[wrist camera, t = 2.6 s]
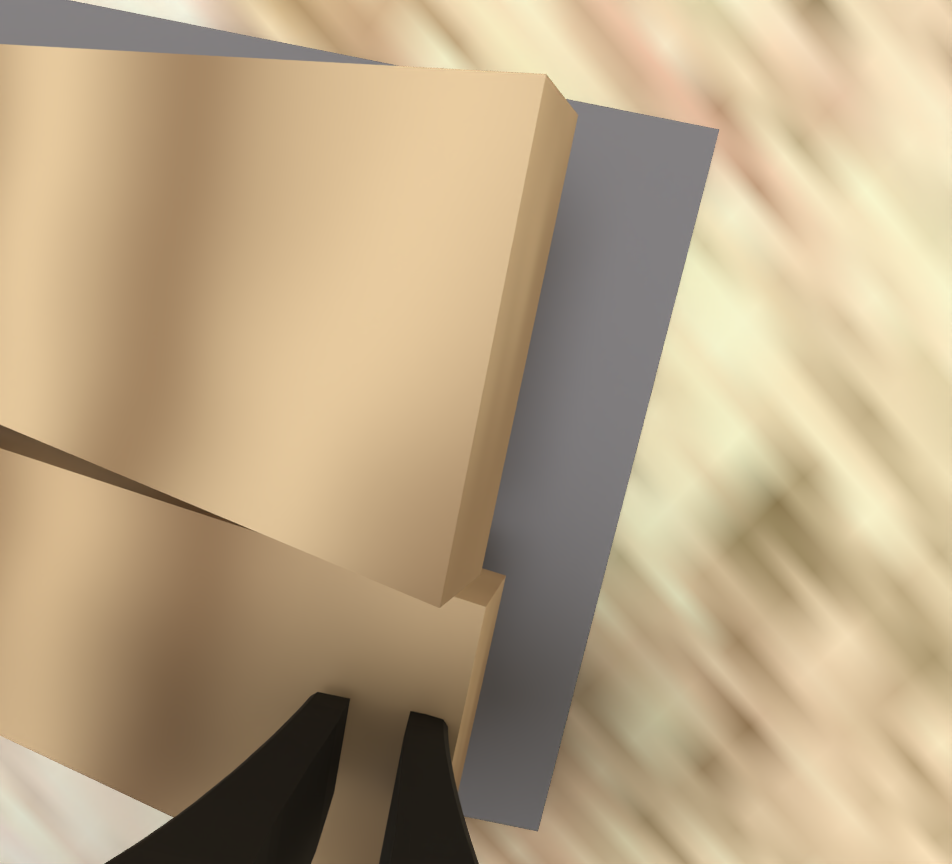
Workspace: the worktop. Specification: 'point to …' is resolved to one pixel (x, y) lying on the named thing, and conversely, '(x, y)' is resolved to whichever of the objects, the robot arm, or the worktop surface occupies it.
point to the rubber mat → (527, 389)
